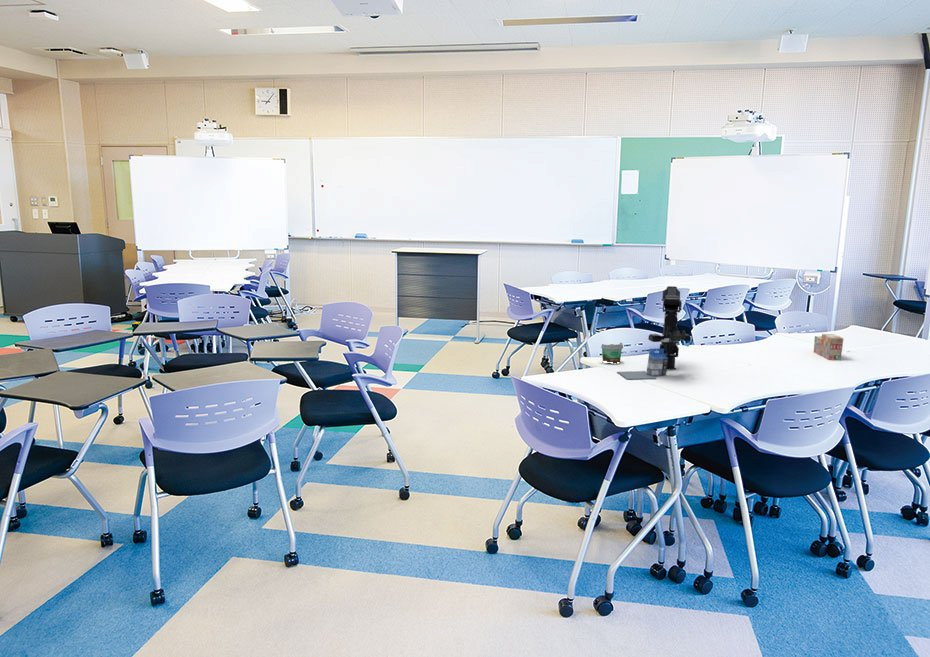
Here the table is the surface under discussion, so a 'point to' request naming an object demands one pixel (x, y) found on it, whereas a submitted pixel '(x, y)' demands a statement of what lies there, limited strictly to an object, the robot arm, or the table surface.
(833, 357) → the printed cardboard box
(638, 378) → the mat
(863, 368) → the table surface
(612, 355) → the food container
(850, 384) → the table surface
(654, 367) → the label tape cartridge
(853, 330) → the table surface
